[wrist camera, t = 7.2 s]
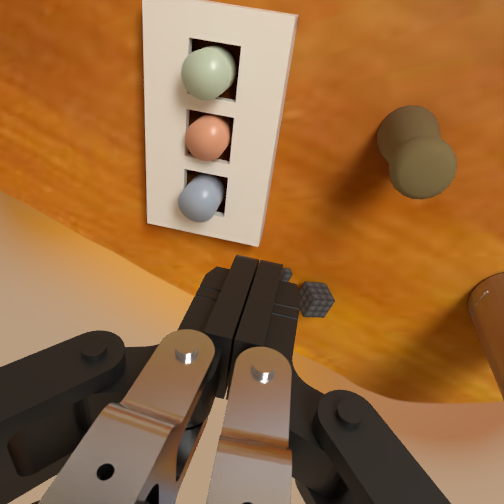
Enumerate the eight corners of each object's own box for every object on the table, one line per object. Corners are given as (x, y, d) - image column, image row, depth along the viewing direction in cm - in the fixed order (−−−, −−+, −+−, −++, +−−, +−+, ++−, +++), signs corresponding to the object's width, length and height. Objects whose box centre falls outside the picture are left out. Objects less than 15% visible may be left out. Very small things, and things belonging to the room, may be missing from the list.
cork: (416, 91, 38) (438, 120, 29) (451, 138, 40) (483, 179, 31) (364, 134, 41) (369, 172, 32) (399, 175, 43) (413, 223, 34)
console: (298, 15, 37) (295, 16, 34) (262, 234, 50) (258, 246, 48) (155, -8, 38) (141, -9, 36) (156, 212, 52) (147, 223, 49)
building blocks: (323, 317, 52) (269, 315, 49) (308, 287, 56) (257, 283, 53) (335, 300, 50) (279, 297, 47) (318, 271, 54) (266, 266, 51)
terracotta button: (235, 114, 43) (226, 124, 39) (232, 152, 45) (223, 164, 42) (198, 107, 43) (185, 116, 40) (196, 145, 45) (184, 157, 42)
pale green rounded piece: (238, 49, 38) (228, 54, 34) (234, 95, 40) (224, 104, 37) (196, 41, 38) (181, 46, 35) (194, 88, 40) (180, 96, 37)
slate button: (226, 176, 45) (217, 191, 42) (223, 209, 47) (214, 225, 44) (190, 169, 45) (178, 183, 42) (189, 202, 48) (177, 218, 44)
